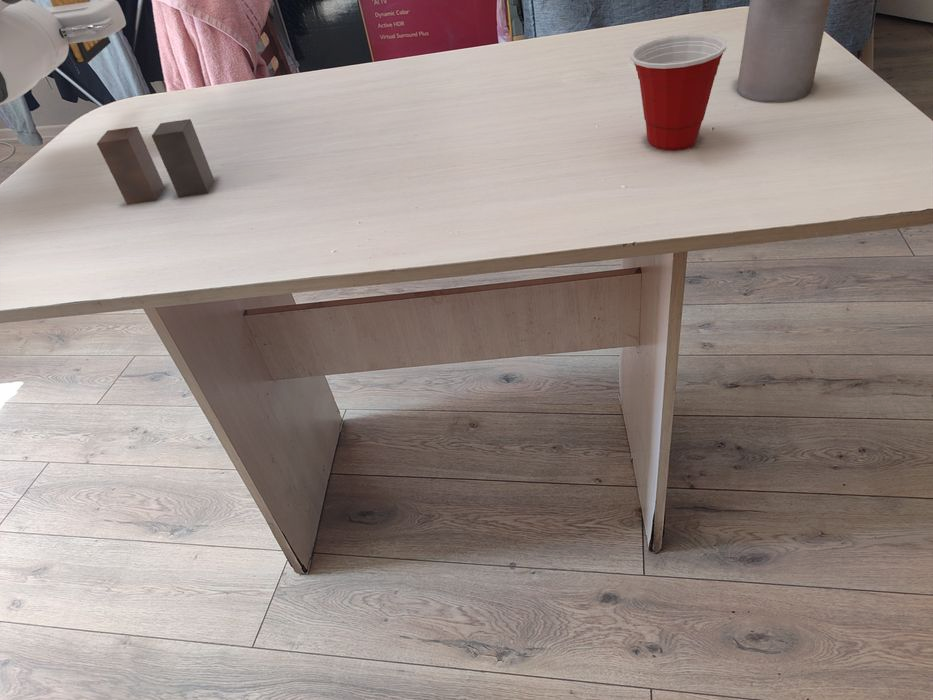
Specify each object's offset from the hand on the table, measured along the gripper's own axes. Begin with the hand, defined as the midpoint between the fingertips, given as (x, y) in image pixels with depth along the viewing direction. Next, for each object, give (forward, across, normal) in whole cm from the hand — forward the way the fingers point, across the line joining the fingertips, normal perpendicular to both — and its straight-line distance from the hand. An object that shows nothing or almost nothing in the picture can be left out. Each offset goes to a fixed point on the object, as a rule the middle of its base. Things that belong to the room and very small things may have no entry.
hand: (68, 11), depth 101 cm
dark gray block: (-27, -19, +18) cm, 38 cm away
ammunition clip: (+2, 0, +7) cm, 7 cm away
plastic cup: (-32, -82, +18) cm, 90 cm away
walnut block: (-27, -12, +18) cm, 35 cm away
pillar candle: (-20, -100, +18) cm, 104 cm away
